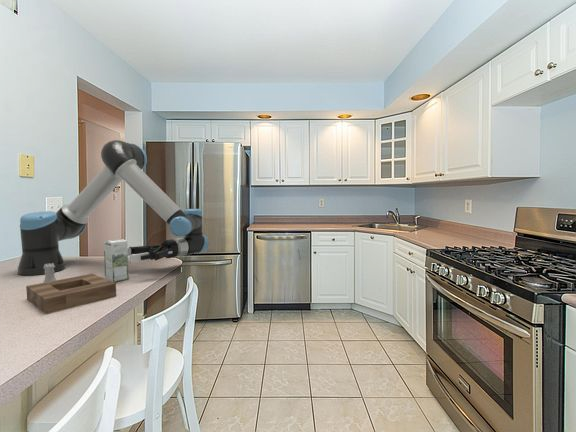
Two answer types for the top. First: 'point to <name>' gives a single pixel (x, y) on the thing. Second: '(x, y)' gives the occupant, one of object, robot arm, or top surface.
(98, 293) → the socket block
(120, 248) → the syrup box
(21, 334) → the top surface
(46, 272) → the rook chess piece
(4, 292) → the top surface
